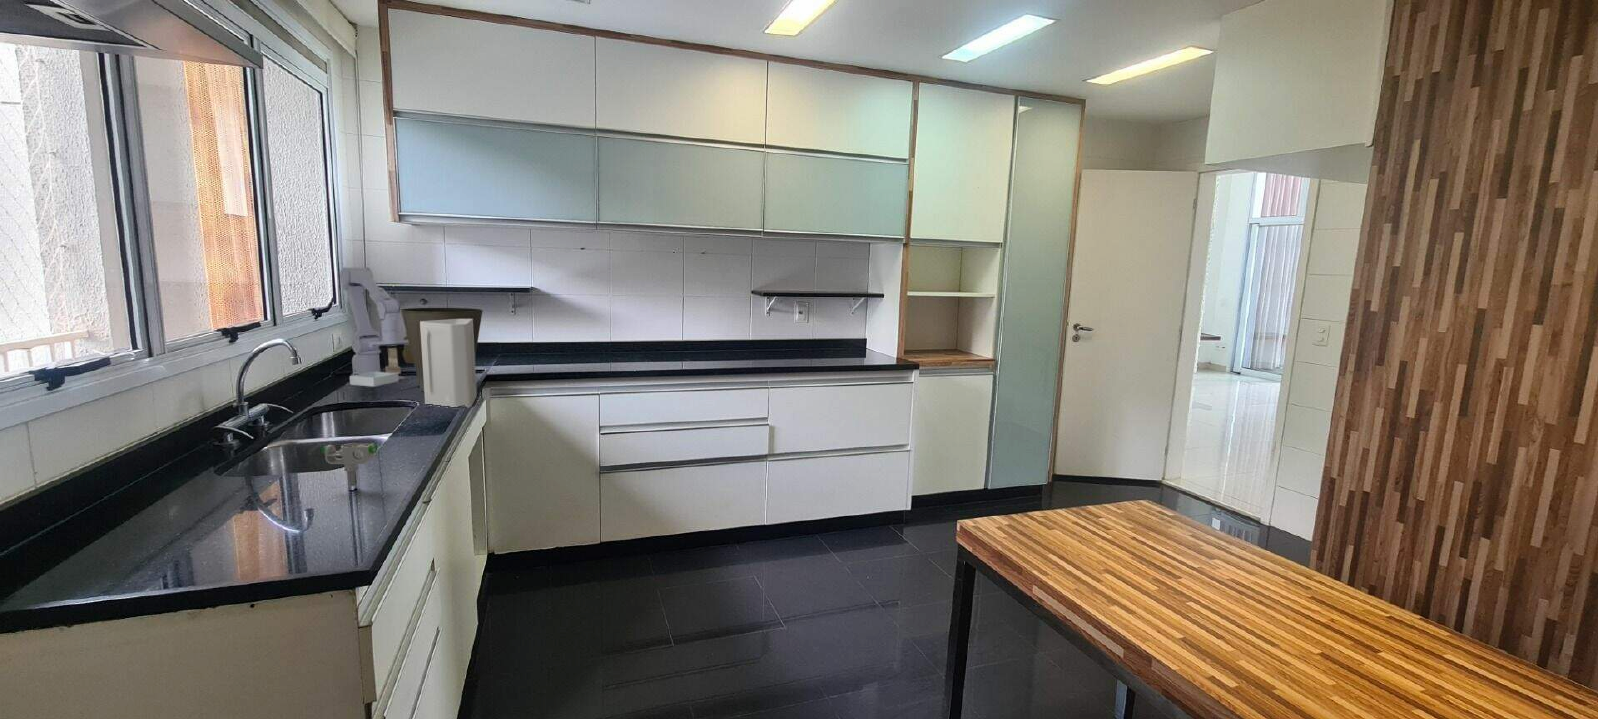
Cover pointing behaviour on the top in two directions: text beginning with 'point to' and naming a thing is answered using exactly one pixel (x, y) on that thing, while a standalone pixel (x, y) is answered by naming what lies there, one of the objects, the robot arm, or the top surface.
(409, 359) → the squeeze bottle
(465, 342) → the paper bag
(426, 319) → the waste basket
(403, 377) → the stud plate
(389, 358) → the strut
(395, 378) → the tray
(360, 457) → the mechanical component
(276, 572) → the top surface
